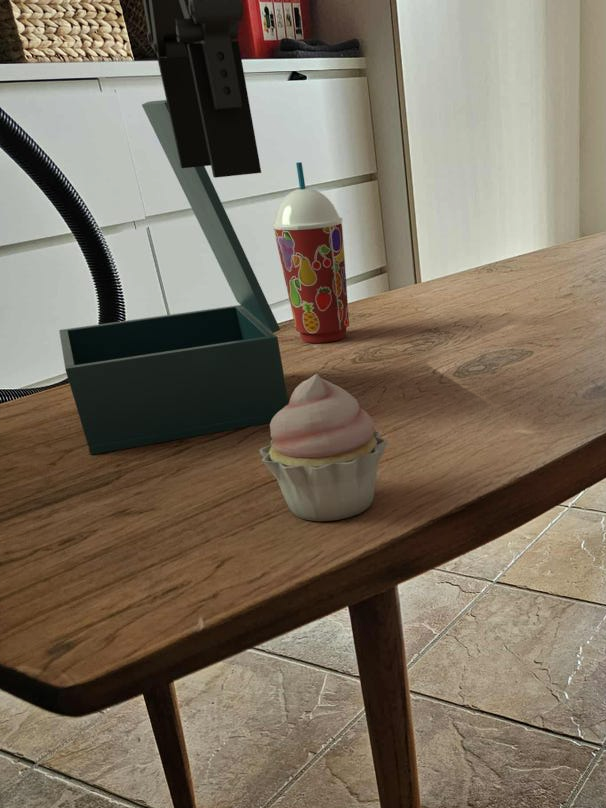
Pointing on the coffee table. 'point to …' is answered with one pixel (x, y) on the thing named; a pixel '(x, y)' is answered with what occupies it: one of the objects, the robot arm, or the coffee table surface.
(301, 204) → the smoothie
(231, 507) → the coffee table surface
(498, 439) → the coffee table surface
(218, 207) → the lid
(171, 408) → the dark green box
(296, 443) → the cupcake
